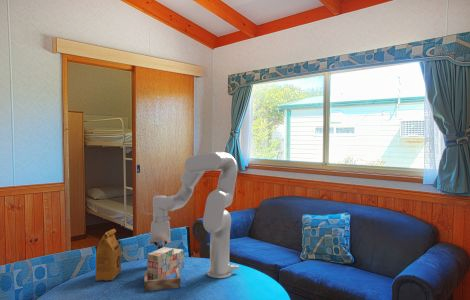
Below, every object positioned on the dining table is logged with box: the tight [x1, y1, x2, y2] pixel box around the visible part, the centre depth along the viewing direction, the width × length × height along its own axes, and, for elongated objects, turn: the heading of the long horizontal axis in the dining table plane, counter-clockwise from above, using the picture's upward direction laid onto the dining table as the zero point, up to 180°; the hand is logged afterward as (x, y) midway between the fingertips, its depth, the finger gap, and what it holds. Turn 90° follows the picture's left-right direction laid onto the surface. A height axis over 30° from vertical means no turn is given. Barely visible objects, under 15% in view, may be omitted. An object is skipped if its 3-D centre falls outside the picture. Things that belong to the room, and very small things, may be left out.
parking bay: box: [143, 269, 182, 292], centre depth 152 cm, size 15×13×4 cm
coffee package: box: [95, 228, 122, 282], centre depth 159 cm, size 10×12×22 cm
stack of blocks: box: [146, 246, 185, 280], centre depth 165 cm, size 21×6×12 cm, turn 155°
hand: (160, 253), depth 177 cm, fingers closed
